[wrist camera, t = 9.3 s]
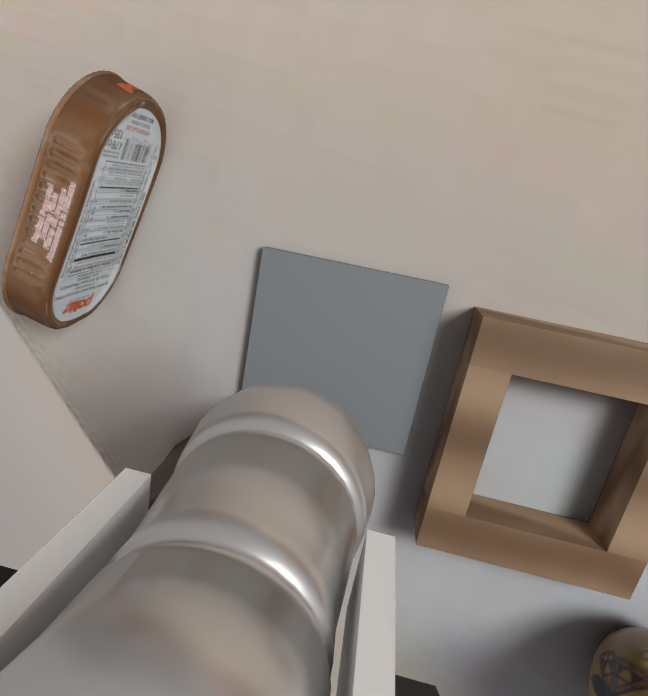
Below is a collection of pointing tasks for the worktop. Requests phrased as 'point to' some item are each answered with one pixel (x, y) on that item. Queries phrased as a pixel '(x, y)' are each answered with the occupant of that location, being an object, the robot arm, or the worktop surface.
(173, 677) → the plastic bottle
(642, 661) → the ceramic vessel
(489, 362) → the brown rectangular frame
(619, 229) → the worktop surface
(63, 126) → the tin
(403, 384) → the rubber mat
